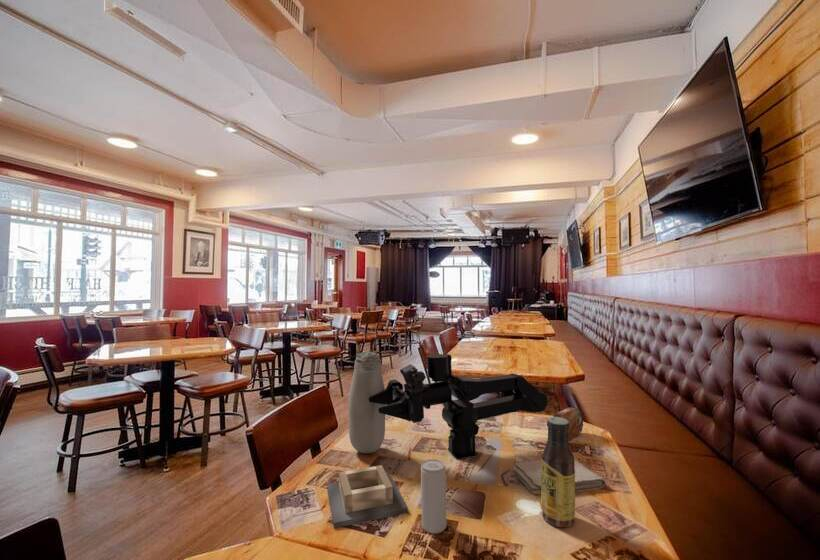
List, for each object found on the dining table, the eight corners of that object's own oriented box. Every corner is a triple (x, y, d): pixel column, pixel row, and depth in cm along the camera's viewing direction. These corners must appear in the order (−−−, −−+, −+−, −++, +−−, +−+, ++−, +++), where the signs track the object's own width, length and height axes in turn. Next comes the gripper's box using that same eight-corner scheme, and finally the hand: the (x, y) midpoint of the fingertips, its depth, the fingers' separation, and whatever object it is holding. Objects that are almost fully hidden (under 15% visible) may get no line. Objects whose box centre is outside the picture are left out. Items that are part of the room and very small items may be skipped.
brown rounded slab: (558, 447, 107) (558, 417, 107) (548, 443, 109) (548, 414, 109) (584, 433, 116) (583, 406, 116) (574, 430, 119) (574, 403, 119)
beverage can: (445, 536, 69) (444, 471, 70) (419, 533, 70) (418, 469, 71) (447, 520, 74) (446, 459, 74) (423, 518, 75) (422, 458, 75)
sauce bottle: (536, 511, 77) (534, 414, 77) (565, 509, 77) (563, 412, 78) (550, 532, 70) (548, 426, 71) (582, 529, 71) (580, 424, 71)
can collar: (389, 477, 91) (389, 458, 91) (407, 512, 77) (407, 490, 77) (326, 488, 87) (326, 468, 87) (333, 528, 72) (333, 504, 73)
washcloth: (510, 473, 93) (509, 460, 93) (574, 465, 97) (574, 453, 97) (534, 499, 82) (534, 485, 82) (607, 489, 85) (606, 476, 85)
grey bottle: (342, 449, 107) (343, 351, 108) (373, 441, 113) (373, 348, 114) (359, 462, 99) (360, 355, 100) (391, 452, 105) (392, 352, 106)
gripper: (414, 358, 109) (362, 366, 104) (443, 372, 92) (382, 382, 86) (417, 396, 109) (365, 406, 104) (445, 417, 92) (385, 430, 86)
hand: (373, 404), depth 95 cm, fingers open, 9 cm apart
